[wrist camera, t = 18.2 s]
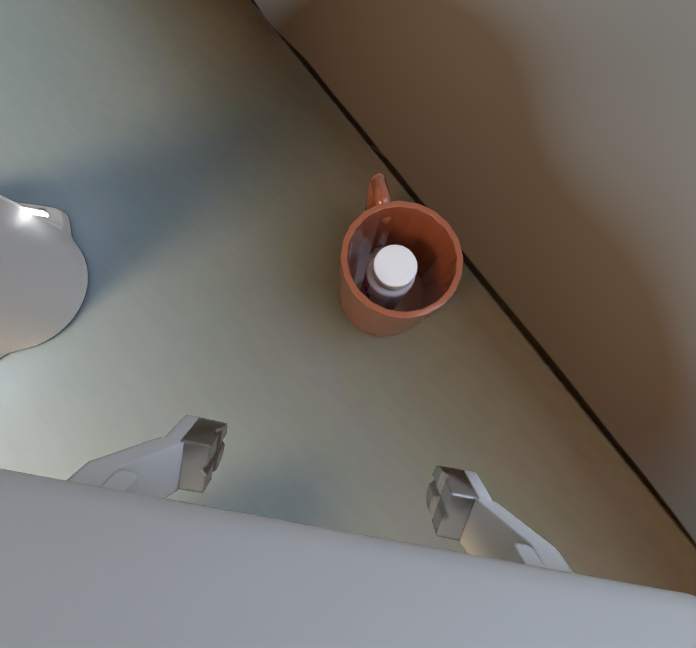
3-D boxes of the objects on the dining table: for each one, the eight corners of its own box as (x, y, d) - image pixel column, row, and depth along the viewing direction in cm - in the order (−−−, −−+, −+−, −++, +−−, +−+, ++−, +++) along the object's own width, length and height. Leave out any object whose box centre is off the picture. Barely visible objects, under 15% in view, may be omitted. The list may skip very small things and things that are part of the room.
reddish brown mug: (435, 327, 38) (476, 305, 28) (347, 343, 38) (353, 327, 27) (408, 213, 41) (435, 151, 30) (325, 225, 40) (322, 167, 29)
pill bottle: (353, 283, 38) (358, 255, 30) (387, 263, 39) (402, 230, 30) (375, 318, 37) (388, 300, 29) (410, 297, 38) (432, 273, 30)
